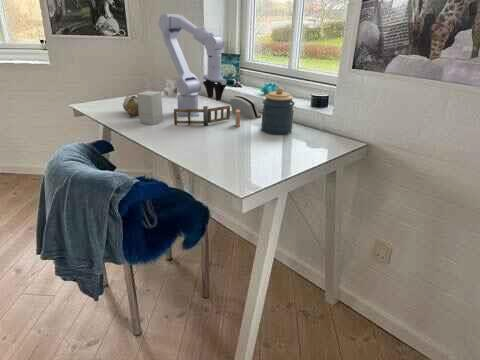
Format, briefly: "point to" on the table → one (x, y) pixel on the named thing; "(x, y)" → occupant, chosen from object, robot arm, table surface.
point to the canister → (277, 112)
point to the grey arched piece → (244, 106)
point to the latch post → (237, 118)
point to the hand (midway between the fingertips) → (214, 98)
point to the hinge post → (205, 115)
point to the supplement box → (150, 107)
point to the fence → (188, 116)
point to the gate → (216, 114)
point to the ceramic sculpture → (131, 105)
